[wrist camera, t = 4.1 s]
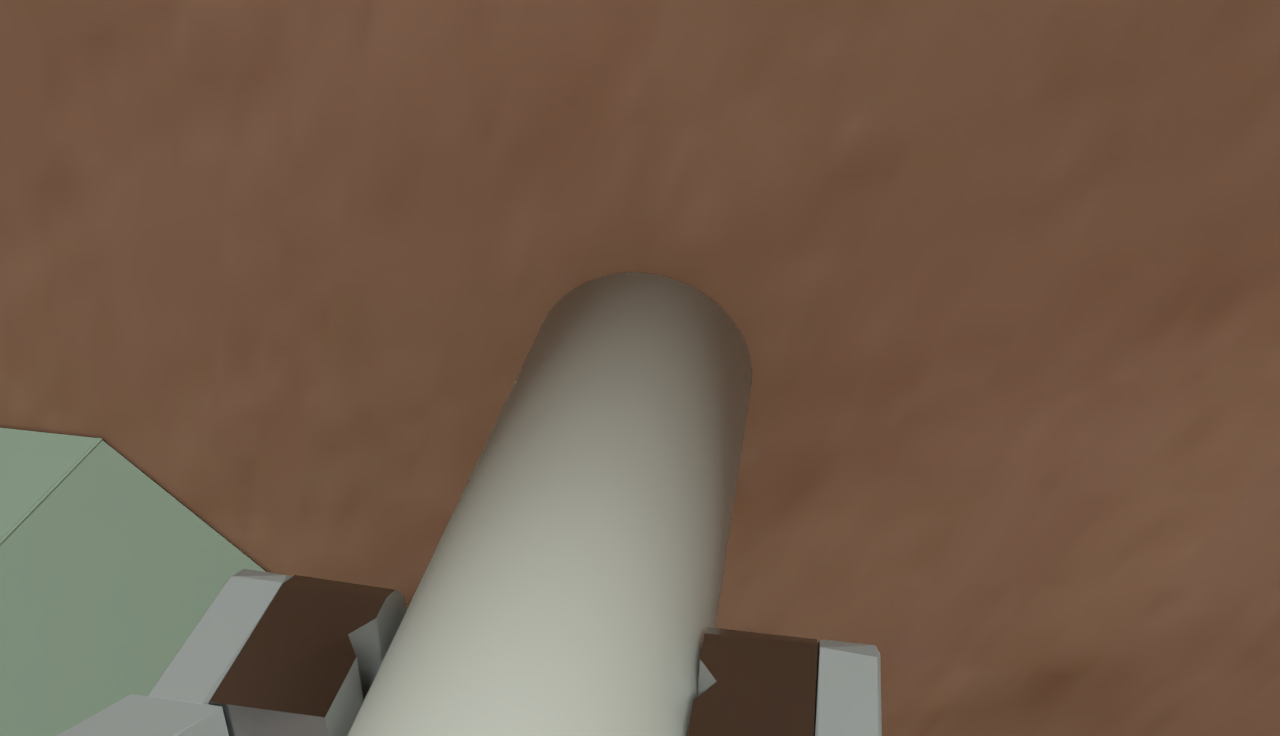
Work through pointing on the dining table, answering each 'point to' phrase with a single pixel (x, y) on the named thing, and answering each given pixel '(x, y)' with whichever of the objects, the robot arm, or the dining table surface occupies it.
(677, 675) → the dowel
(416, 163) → the dining table surface
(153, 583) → the bead
